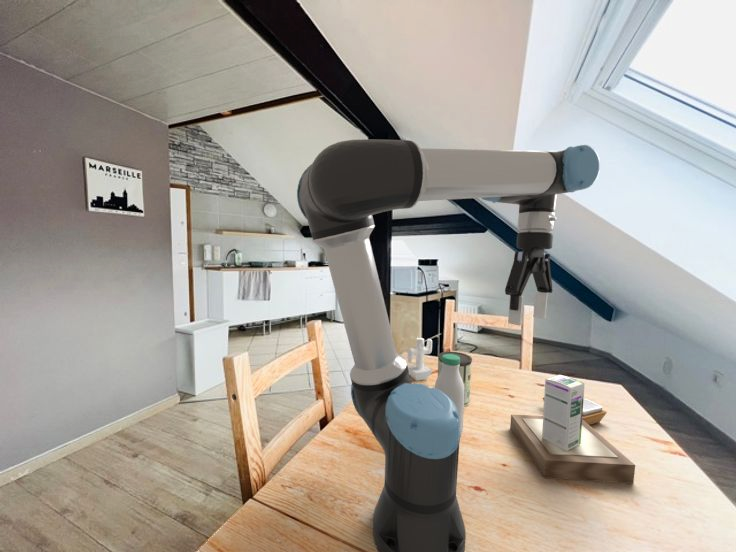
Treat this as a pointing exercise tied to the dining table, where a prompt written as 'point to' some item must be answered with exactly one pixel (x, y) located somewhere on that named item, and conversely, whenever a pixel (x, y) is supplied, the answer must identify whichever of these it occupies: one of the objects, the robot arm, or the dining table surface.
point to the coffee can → (461, 372)
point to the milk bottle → (452, 383)
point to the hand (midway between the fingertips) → (527, 320)
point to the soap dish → (592, 412)
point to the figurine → (419, 360)
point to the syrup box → (563, 411)
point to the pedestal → (572, 454)
